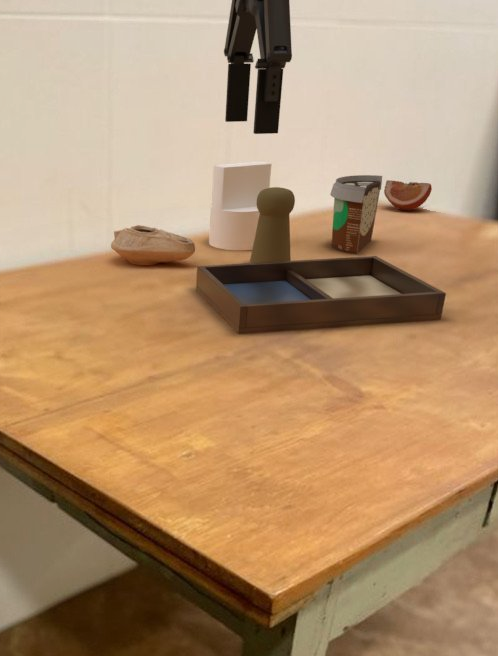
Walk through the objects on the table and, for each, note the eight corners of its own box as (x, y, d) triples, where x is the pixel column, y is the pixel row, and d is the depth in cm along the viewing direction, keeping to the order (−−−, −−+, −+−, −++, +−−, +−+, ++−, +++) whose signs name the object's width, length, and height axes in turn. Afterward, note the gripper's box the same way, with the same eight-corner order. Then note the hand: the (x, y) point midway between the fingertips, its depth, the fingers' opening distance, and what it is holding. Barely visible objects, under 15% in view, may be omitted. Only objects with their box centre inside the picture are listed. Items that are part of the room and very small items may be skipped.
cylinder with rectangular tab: (245, 236, 135) (251, 158, 128) (276, 248, 128) (284, 166, 121) (198, 242, 131) (201, 162, 125) (227, 254, 124) (233, 170, 118)
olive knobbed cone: (282, 277, 113) (290, 193, 108) (241, 271, 116) (247, 189, 110) (296, 267, 118) (305, 186, 112) (257, 262, 120) (264, 183, 115)
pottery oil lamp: (183, 273, 114) (161, 229, 110) (119, 289, 122) (96, 248, 118) (208, 239, 118) (188, 195, 114) (145, 256, 126) (123, 215, 122)
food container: (335, 237, 134) (343, 172, 129) (372, 241, 131) (383, 175, 126) (313, 254, 124) (322, 184, 119) (354, 258, 122) (364, 187, 117)
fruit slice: (376, 209, 153) (380, 181, 151) (390, 204, 158) (394, 176, 155) (419, 214, 149) (425, 185, 146) (432, 209, 154) (437, 180, 151)
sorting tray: (371, 281, 111) (375, 255, 109) (440, 322, 96) (446, 293, 94) (195, 292, 107) (196, 265, 105) (238, 337, 92) (240, 306, 90)
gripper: (205, -77, 98) (198, 117, 110) (262, -105, 77) (246, 140, 88) (265, -77, 99) (252, 116, 110) (338, -104, 78) (313, 138, 89)
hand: (250, 127), depth 99 cm, fingers open, 13 cm apart
